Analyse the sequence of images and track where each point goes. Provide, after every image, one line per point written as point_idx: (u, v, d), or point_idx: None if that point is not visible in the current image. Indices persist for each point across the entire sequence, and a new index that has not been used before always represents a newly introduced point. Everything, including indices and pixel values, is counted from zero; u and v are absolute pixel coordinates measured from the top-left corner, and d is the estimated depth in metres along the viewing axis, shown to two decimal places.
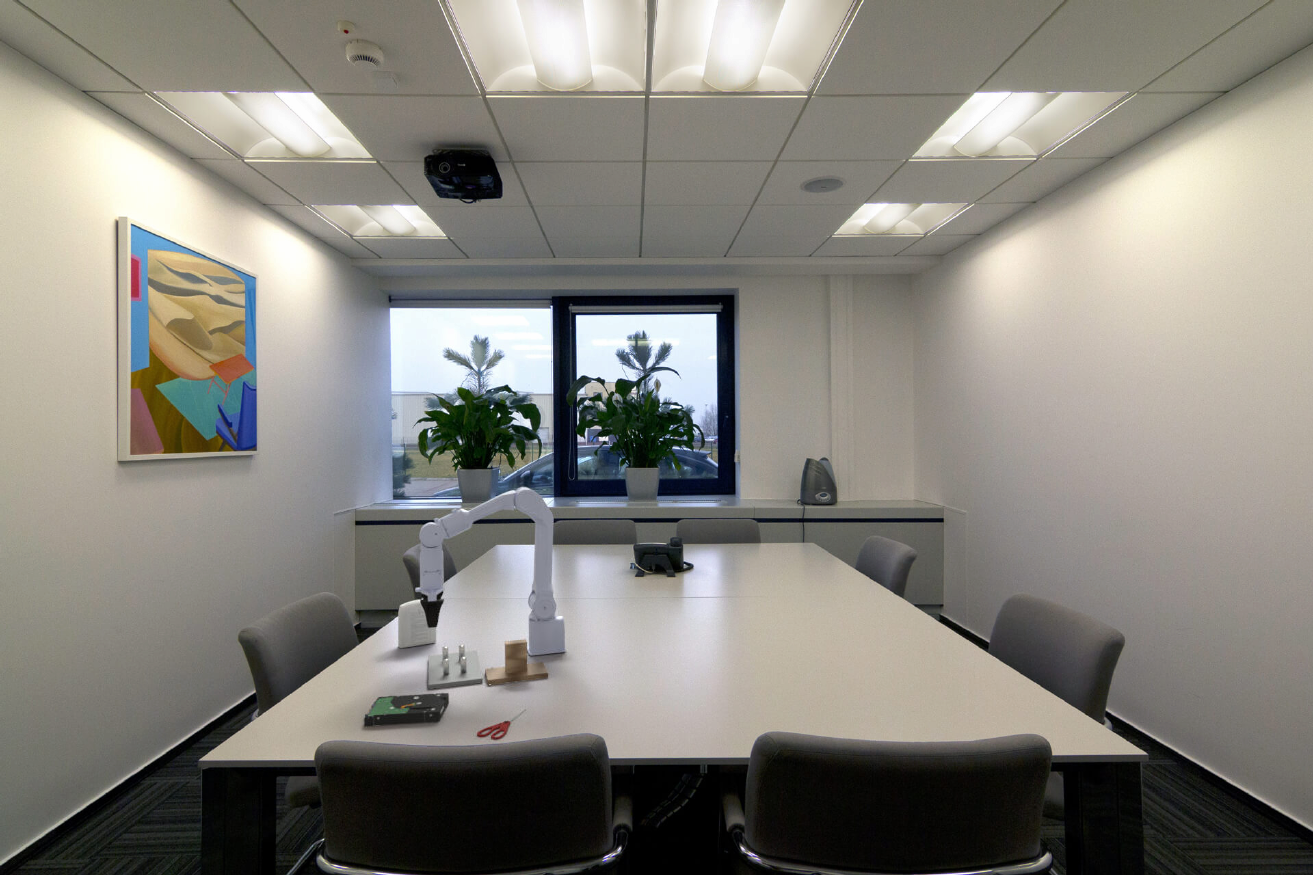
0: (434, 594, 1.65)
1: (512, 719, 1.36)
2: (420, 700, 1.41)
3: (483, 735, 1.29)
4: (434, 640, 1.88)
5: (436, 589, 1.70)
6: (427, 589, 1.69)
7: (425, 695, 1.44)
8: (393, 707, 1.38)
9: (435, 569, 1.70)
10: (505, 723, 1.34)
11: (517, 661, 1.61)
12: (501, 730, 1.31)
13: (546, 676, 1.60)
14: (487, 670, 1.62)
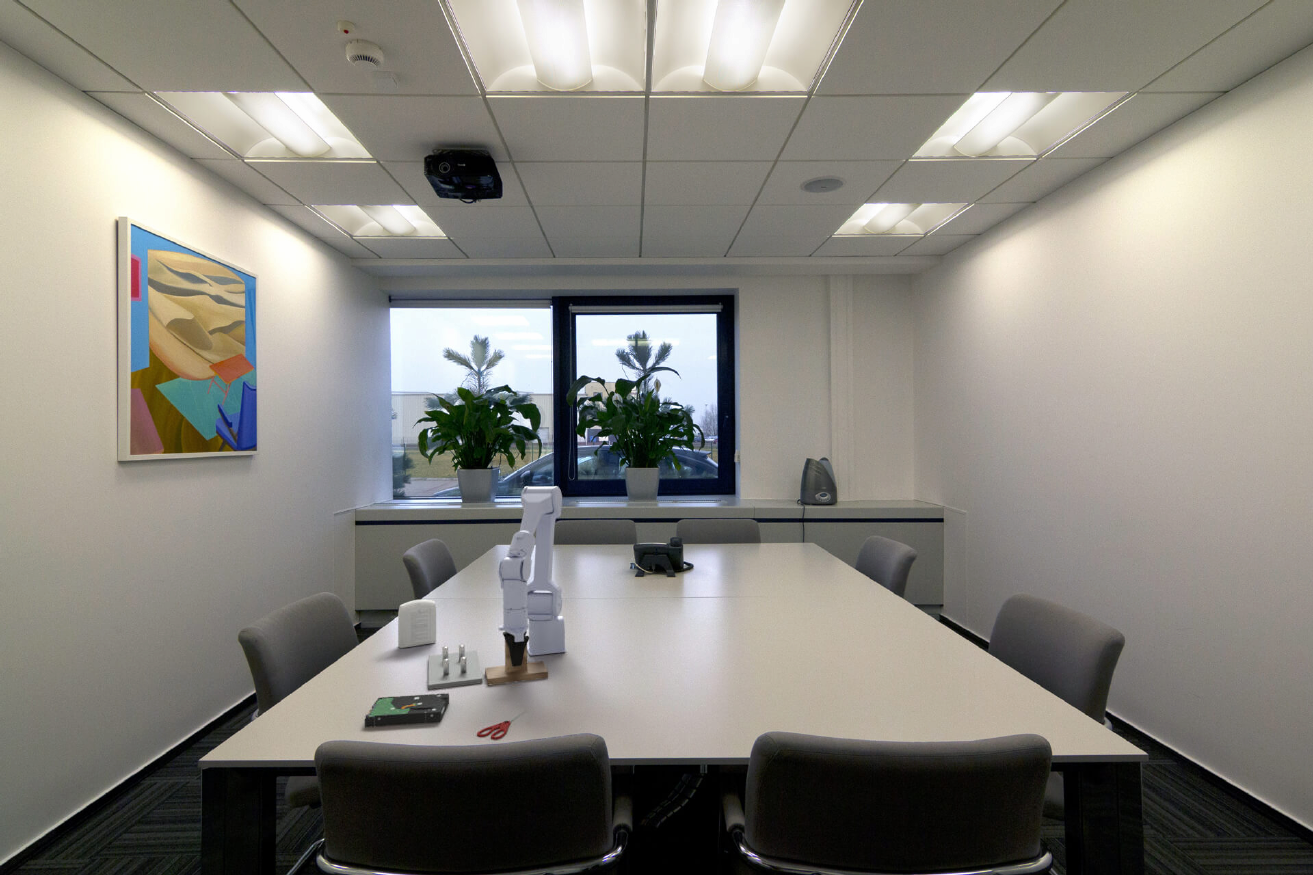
0: (521, 634, 1.55)
1: (512, 719, 1.36)
2: (420, 701, 1.41)
3: (483, 735, 1.29)
4: (434, 640, 1.88)
5: (521, 628, 1.60)
6: (512, 628, 1.59)
7: (425, 695, 1.44)
8: (393, 708, 1.38)
9: None
10: (505, 723, 1.34)
11: None
12: (501, 730, 1.31)
13: (546, 675, 1.60)
14: (487, 669, 1.62)
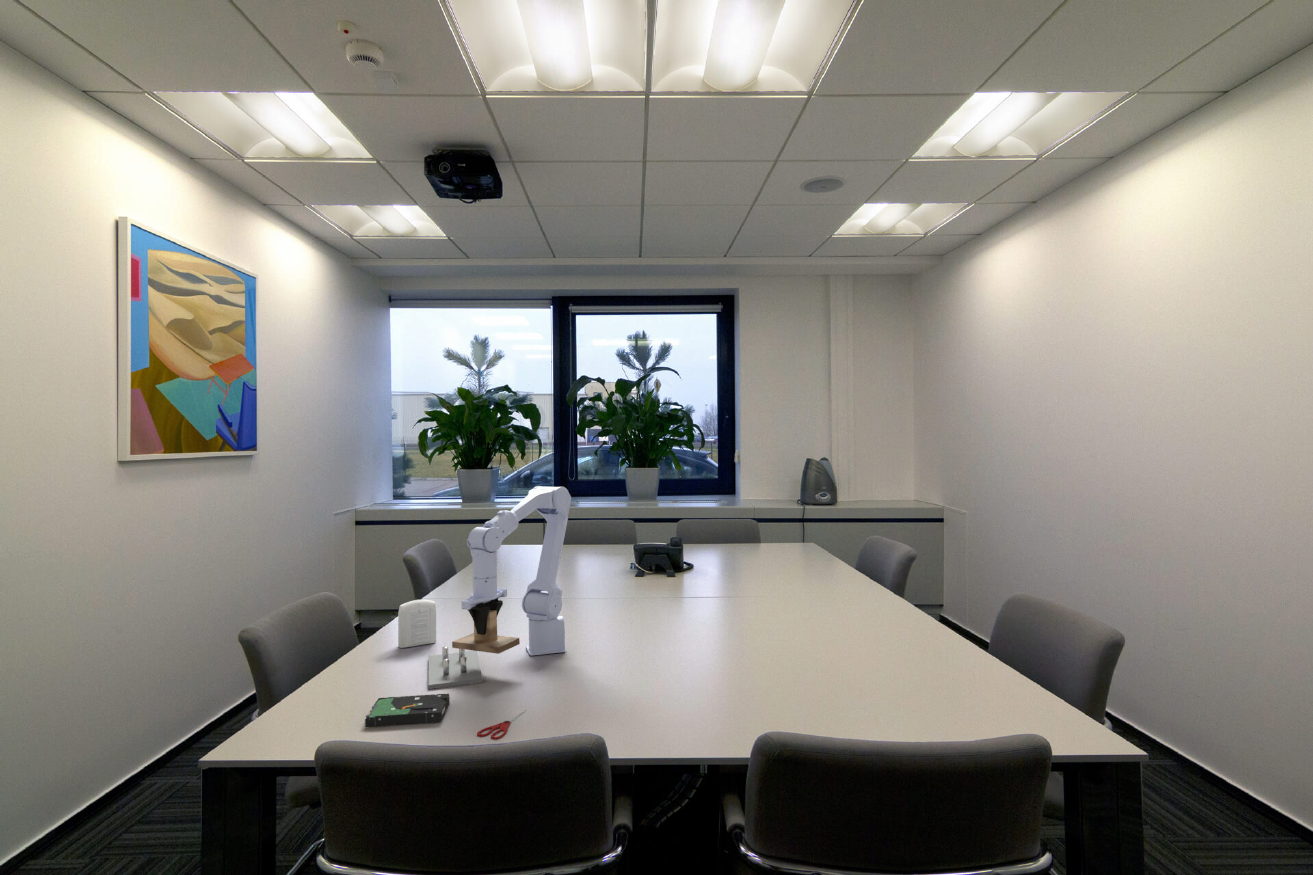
0: (466, 602, 1.57)
1: (513, 719, 1.36)
2: (421, 701, 1.41)
3: (483, 735, 1.29)
4: (434, 640, 1.88)
5: (481, 597, 1.61)
6: (474, 596, 1.62)
7: (426, 696, 1.44)
8: (394, 708, 1.38)
9: (495, 574, 1.63)
10: (505, 723, 1.34)
11: None
12: (501, 730, 1.31)
13: (497, 650, 1.57)
14: (472, 634, 1.69)
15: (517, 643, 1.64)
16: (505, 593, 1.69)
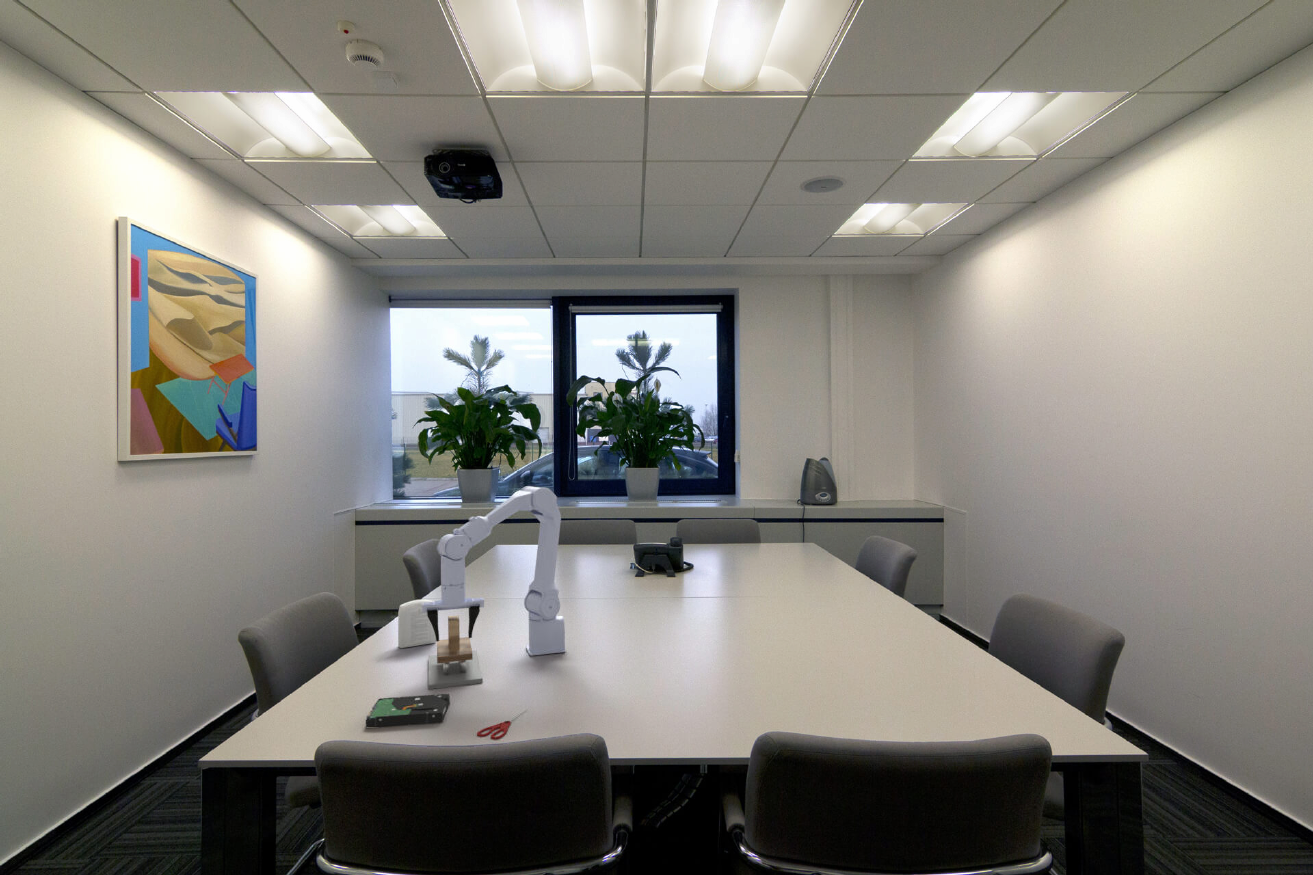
0: (422, 605, 1.63)
1: (513, 719, 1.36)
2: (421, 702, 1.41)
3: (483, 735, 1.29)
4: (434, 640, 1.88)
5: (441, 603, 1.64)
6: None
7: (426, 696, 1.44)
8: (394, 709, 1.37)
9: (460, 582, 1.64)
10: (505, 723, 1.34)
11: None
12: (501, 730, 1.31)
13: (437, 660, 1.58)
14: (464, 638, 1.73)
15: (469, 658, 1.60)
16: (481, 603, 1.67)
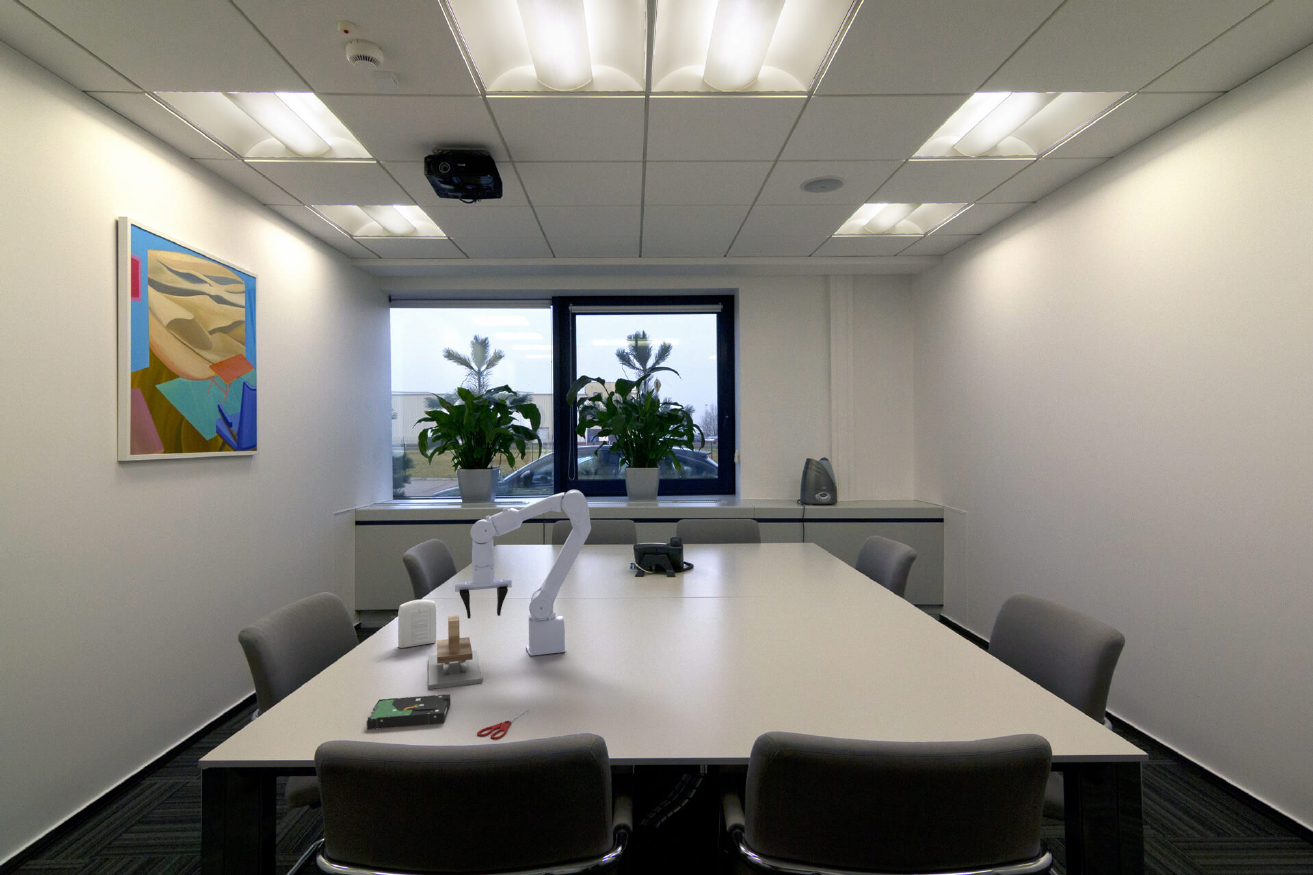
0: (455, 585, 1.76)
1: (513, 719, 1.36)
2: (422, 702, 1.40)
3: (483, 735, 1.29)
4: (434, 640, 1.88)
5: (473, 583, 1.77)
6: None
7: (427, 697, 1.44)
8: (395, 710, 1.37)
9: (485, 564, 1.76)
10: (506, 723, 1.34)
11: None
12: (501, 730, 1.31)
13: (437, 660, 1.58)
14: (464, 638, 1.73)
15: (469, 658, 1.60)
16: (509, 584, 1.80)
